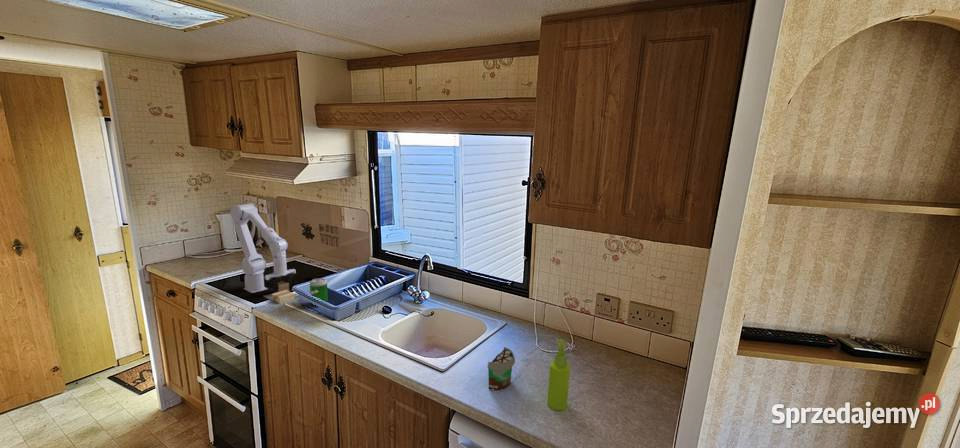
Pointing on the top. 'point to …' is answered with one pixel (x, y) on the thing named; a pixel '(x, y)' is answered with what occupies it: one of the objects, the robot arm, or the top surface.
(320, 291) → the soda can
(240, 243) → the robot arm
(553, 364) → the soap dispenser
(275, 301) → the rubber mat
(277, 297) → the pedestal
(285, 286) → the walnut cube
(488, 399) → the top surface
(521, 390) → the top surface
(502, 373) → the food container
